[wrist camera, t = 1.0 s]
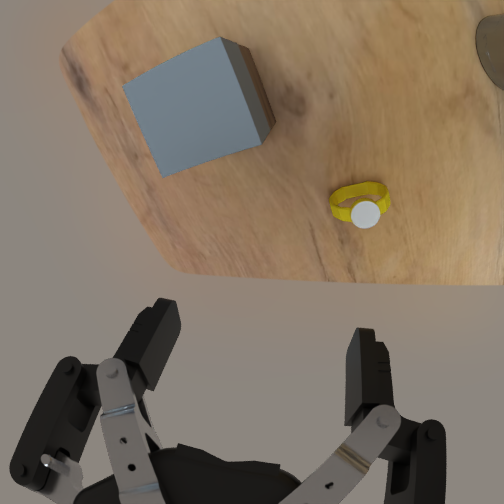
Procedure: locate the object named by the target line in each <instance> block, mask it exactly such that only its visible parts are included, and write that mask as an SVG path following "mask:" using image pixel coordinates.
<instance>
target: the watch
mask: <svg viewBox="0 0 504 504" xmlns="http://www.w3.org/2000/svg"><path fill="white" fill-rule="evenodd" d="M367 194H373V195H380V196H381V197H382V198H381V199H379V200H377V201H376V202H375V201H373V200H372V199H369V198H361V199H358V200H356V201H355V202H354V203H353V204H352V206H351V208H350V207H340V206H338V204H339V203H341V202H342V201H344V200H345V199H348V198H353V197H357V196H362V195H367ZM329 203H330V207H331V210H332V214H333V216H334V217H336V218H337V219H339V220H341V221H347V222H353V224H354V225H355V226H357V227H359V228H363V229H365V228H370V227H372V226H374V225H375V224H376V223H377V222H378V220H379V218H380V215H381V214H383V213H385V211H387V209H388V208H389V206H390V197H389V192H388V189H387V187H386V186H385V185H383V184H381V183H378V182H370V181H365V182H363V183H359V184H354V185H349V186H345V187H341V188H339V189H338V190H336V191H335V192H333V194H332V195H331V196H330V198H329Z"/></svg>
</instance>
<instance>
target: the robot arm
mask: <svg viewBox="0 0 504 504" xmlns="http://www.w3.org/2000/svg"><path fill="white" fill-rule="evenodd" d="M476 45H477V51H478V54H479V58H480V61H481V63H482V65H483V67H484V69H485V71H486V72H487V74H488V76H489V77H490V78H491V80H492V81H493V82H494V83H495V84H496V85H497V86H498V87H499V88H501V89H502V90H504V14H500V15H494V16H488V17H486V18H484V19H483V20H482V21H481V22H480V24H479V26H478V28H477V33H476ZM180 330H181V321H180V317H179V312H178V308H177V304H176V301H174V300H169V299H164V298H158V299H157V301H156V302H155V304H154V306H153V307H152V308H151V307H147V308H145V309H144V310H143V311H142V312H141V313H139V314H138V316H137V318H136V320H135V321H134V324H132V326H131V328H130V331H128V333H127V334H126V336H125V338H124V340H123V342H122V343H121V345H120V347H119V348H118V350H117V352H116V353H115V355H114V356H113V358H110V359H106V360H104V361H103V362H102V363H100V364H99V365H94V364H81V362H80V361H79V360H78V359H77V358H76V357H72V356H69V357H65V358H63V359H62V360H60V362H59V363H58V364H57V366H56V368H55V369H54V371H53V373H52V375H51V377H50V379H49V380H48V382H47V384H46V386H45V388H44V390H43V392H42V394H41V396H40V398H39V400H38V402H37V404H36V406H35V408H34V410H33V412H32V414H31V416H30V418H29V420H28V422H27V424H26V427H25V429H24V431H23V433H22V436H21V438H20V440H19V443H18V445H17V447H16V450H15V452H14V455H13V457H12V460H11V462H10V474H11V476H12V478H13V480H14V481H15V482H16V483H18V484H19V485H22V486H24V487H26V488H28V489H30V490H32V491H34V492H36V493H39V494H42V495H44V496H45V497H47V498H49V499H50V500H52V501H53V502H55V503H57V504H339V503H340V502H341V501H342V500H343V499H344V498H345V497H346V496H347V495H348V493H350V491H351V490H352V489H353V488H354V487H355V486H356V485H357V484H358V483H359V482H360V480H361V479H362V478H363V477H364V476H365V475H366V473H367V472H368V470H369V467H370V466H371V464H372V463H373V462H374V461H375V459H376V458H377V457H378V458H382V459H385V460H388V461H389V462H388V473H387V483H386V492H385V500H384V504H445V492H446V432H445V429H444V427H443V425H442V424H441V423H440V422H439V421H436V420H432V419H431V420H427V421H424V422H423V423H422V424H421V423H418V422H415V421H411V420H408V419H406V418H404V417H402V416H401V415H400V414H399V413H398V411H397V410H396V409H395V406H394V400H393V387H392V379H391V378H392V377H391V368H390V358H389V352H388V350H387V348H386V346H385V344H384V343H383V342H376V341H375V340H376V339H375V332H374V330H373V329H368V328H356V330H355V333H354V335H353V337H352V340H351V342H350V345H349V347H348V350H347V354H346V396H345V424H344V425H345V426H352V427H351V434H350V435H349V437H348V438H347V439H346V440H345V441H344V442H343V443H342V444H341V445H340V446H339V447H338V448H337V450H335V452H334V453H333V454H332V455H331V456H330V457H329V458H328V459H327V460H326V461H325V462H324V463H323V464H322V465H321V466H320V467H318V468H317V469H316V470H315V471H314V472H313V473H312V474H311V475H310V476H309V477H308V478H307V479H306V480H304V481H303V482H302V483H301V482H300V481H299V480H298V479H297V478H296V477H295V476H293V475H292V474H290V473H288V472H286V471H284V470H281V469H280V464H273V463H265V462H259V461H243V462H227V461H224V460H221V459H219V458H217V457H215V456H213V455H211V454H209V453H207V452H205V451H204V450H201V449H197V448H193V447H190V446H186V445H183V444H179V443H178V445H177V448H165V449H163V447H162V445H161V443H160V440H159V438H158V436H157V434H156V432H155V430H154V427H153V424H152V422H151V419H150V415H149V412H148V409H147V406H146V403H145V399H144V396H143V394H144V392H145V390H146V389H148V390H151V391H154V389H155V387H156V385H157V383H158V380H159V378H160V376H161V374H162V371H163V369H164V367H165V365H166V362H167V360H168V358H169V356H170V354H171V351H172V349H173V347H174V345H175V343H176V340H177V338H178V336H179V333H180ZM101 406H102V409H103V414H102V415H101V416H100V421H101V426H102V431H103V435H104V439H105V443H106V447H107V451H108V455H109V459H110V462H111V465H112V469H113V472H114V474H113V475H111V476H109V477H107V478H105V479H103V480H101V481H99V482H97V483H95V484H93V485H91V486H89V487H87V488H85V489H83V487H82V479H83V475H82V469H81V467H80V465H79V464H78V463H79V460H80V458H81V455H82V452H83V450H84V447H85V444H86V442H87V440H88V437H89V434H90V432H91V429H92V427H93V425H94V422H95V420H96V417H97V415H98V412H99V410H100V408H101Z"/></svg>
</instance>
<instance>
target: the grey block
mask: <svg viewBox="0 0 504 504" xmlns="http://www.w3.org/2000/svg"><path fill="white" fill-rule="evenodd" d="M122 87H123V89H124V92H125V94H126V96H127V99H128V101H129V104H130V106H131V108H132V111H133V113H134V115H135V118H136V120H137V122H138V124H139V127H140V129H141V131H142V134H143V136H144V138H145V140H146V143H147V145H148V147H149V149H150V151H151V154H152V156H153V158H154V160H155V162H156V165H157V167H158V169H159V171H160V173H161V175H162V177H163V178H164V177H166V176H169V175H172V174H174V173H177V172H180V171H182V170H185V169H188V168H191V167H193V166H196V165H199V164H202V163H205V162H208V161H211V160H214V159H217V158H220V157H223V156H226V155H229V154H232V153H235V152H238V151H242V150H245V149H248V148H252V147H255V146H258V145H262V143H263V142H264V140H265V138H266V137H267V135H268V134H269V132H270V128H269V125H268V122H267V119H266V117H265V114H264V111H263V108H262V106H261V103H260V100H259V98H258V95H257V92H256V90H255V87H254V84H253V82H252V79H251V76H250V74H249V71H248V69H247V66H246V64H245V61H244V59H243V56H242V54H241V51H240V49H239V46H238V44H237V43H235V42H232V41H230V40H227V39H225V38H222V37H218V38H215V39H213V40H211V41H208V42H206V43H204V44H201V45H199V46H197V47H194V48H192V49H190V50H188V51H186V52H184V53H182V54H180V55H177V56H175V57H173V58H171V59H169V60H167V61H166V62H164V63H162V64H160V65H158V66H156V67H154V68H152V69H151V70H149V71H147V72H145V73H143V74H142V75H140V76H138V77H137V78H135V79H133V80H131V81H130V82H128V83H127V84H125V85H123V86H122Z"/></svg>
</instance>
